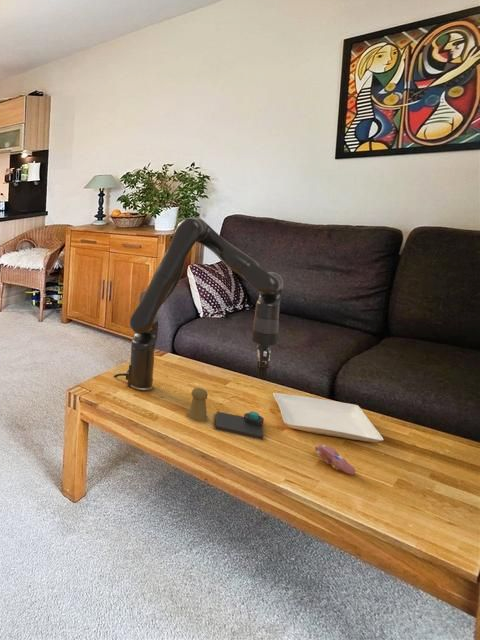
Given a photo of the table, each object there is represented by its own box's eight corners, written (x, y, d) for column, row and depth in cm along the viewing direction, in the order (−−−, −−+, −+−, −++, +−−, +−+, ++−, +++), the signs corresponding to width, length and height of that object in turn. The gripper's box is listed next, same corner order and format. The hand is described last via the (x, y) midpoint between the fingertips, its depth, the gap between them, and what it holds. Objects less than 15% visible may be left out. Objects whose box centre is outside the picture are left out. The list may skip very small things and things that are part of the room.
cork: (203, 414, 176) (205, 386, 174) (209, 422, 170) (212, 393, 168) (186, 413, 176) (188, 385, 175) (192, 421, 170) (194, 392, 169)
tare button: (248, 418, 167) (249, 414, 167) (248, 415, 170) (249, 410, 169) (258, 420, 166) (259, 416, 165) (258, 417, 168) (258, 412, 168)
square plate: (356, 413, 176) (358, 403, 176) (383, 450, 152) (385, 439, 151) (271, 399, 188) (272, 390, 187) (283, 432, 163) (284, 421, 162)
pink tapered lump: (317, 461, 148) (309, 443, 147) (330, 455, 148) (322, 437, 147) (344, 481, 139) (336, 462, 138) (358, 474, 139) (350, 455, 138)
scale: (215, 429, 165) (216, 421, 165) (216, 413, 176) (217, 406, 176) (264, 440, 158) (264, 432, 158) (262, 423, 169) (263, 415, 169)
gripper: (252, 322, 174) (248, 364, 176) (253, 333, 161) (249, 378, 164) (276, 325, 170) (272, 368, 173) (280, 336, 158) (275, 382, 160)
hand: (261, 373), depth 168 cm, fingers open, 8 cm apart
